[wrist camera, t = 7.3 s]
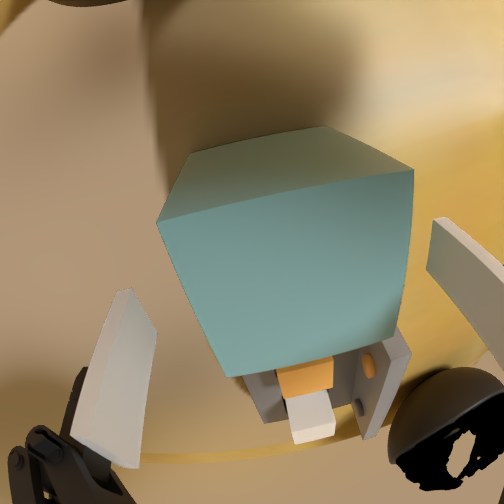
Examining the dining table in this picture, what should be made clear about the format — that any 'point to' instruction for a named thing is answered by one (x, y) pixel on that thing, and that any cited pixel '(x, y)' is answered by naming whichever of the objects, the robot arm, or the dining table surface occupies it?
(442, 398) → the bowl of black rocks
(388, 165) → the cover
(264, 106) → the dining table surface
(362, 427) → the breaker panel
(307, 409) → the plain button
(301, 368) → the tagged button
